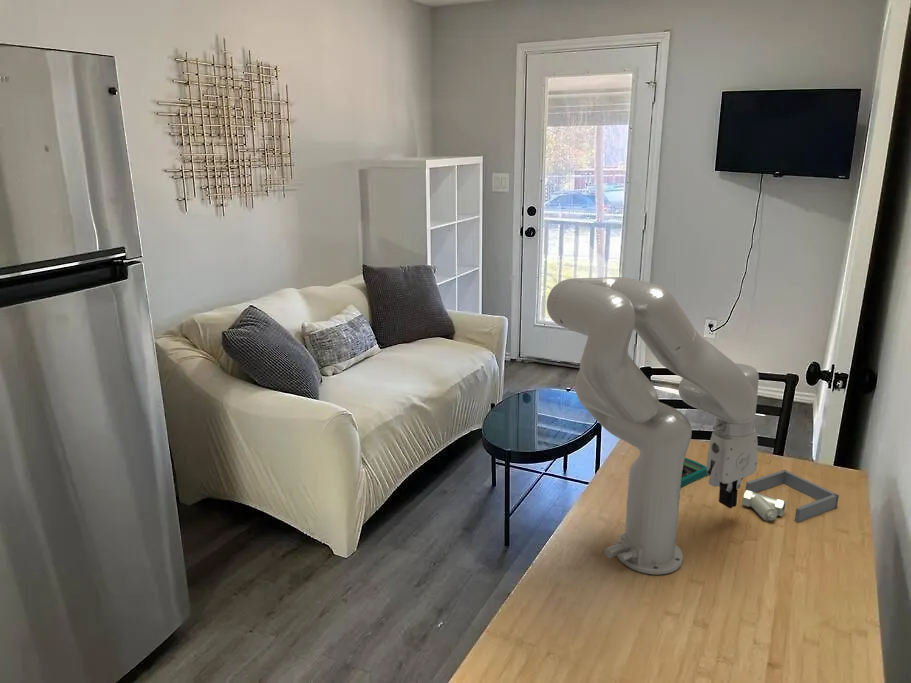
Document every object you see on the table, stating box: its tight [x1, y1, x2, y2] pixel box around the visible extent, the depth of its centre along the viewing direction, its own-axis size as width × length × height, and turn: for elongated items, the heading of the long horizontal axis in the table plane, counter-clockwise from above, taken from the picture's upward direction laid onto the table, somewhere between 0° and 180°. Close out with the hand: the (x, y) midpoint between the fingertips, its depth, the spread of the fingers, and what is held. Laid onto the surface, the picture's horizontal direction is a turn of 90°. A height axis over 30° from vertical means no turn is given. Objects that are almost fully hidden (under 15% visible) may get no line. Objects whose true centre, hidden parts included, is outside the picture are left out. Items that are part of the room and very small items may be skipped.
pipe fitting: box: [742, 489, 787, 522], centre depth 143 cm, size 8×4×7 cm
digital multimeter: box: [681, 457, 709, 488], centre depth 159 cm, size 7×15×3 cm, turn 126°
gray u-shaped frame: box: [744, 469, 840, 523], centre depth 148 cm, size 13×14×3 cm
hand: (727, 504), depth 138 cm, fingers closed
